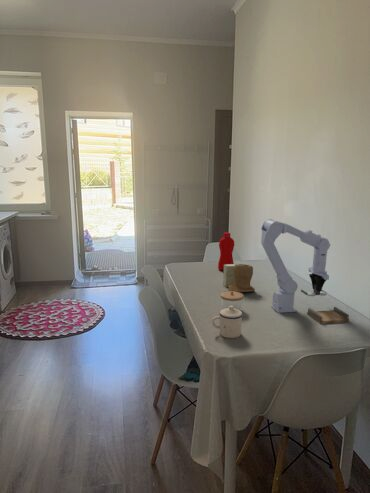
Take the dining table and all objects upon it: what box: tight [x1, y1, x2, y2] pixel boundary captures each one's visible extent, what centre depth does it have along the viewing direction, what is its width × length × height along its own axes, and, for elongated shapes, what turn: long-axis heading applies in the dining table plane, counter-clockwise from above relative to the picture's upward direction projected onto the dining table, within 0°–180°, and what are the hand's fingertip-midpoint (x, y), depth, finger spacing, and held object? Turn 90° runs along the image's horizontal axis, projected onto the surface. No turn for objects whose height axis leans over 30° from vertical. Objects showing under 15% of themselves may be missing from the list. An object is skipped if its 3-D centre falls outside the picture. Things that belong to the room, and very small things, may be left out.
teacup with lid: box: [211, 306, 243, 339], centre depth 148 cm, size 12×9×12 cm
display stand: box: [306, 306, 350, 325], centre depth 166 cm, size 14×11×3 cm
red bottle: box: [217, 232, 235, 272], centre depth 244 cm, size 9×11×25 cm
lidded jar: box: [219, 290, 244, 310], centre depth 173 cm, size 11×11×9 cm
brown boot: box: [228, 263, 256, 293], centre depth 201 cm, size 15×12×15 cm
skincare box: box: [222, 264, 236, 288], centre depth 210 cm, size 6×4×12 cm
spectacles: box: [300, 284, 328, 297], centre depth 178 cm, size 10×8×5 cm
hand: (316, 290), depth 176 cm, fingers closed on spectacles, 3 cm apart
